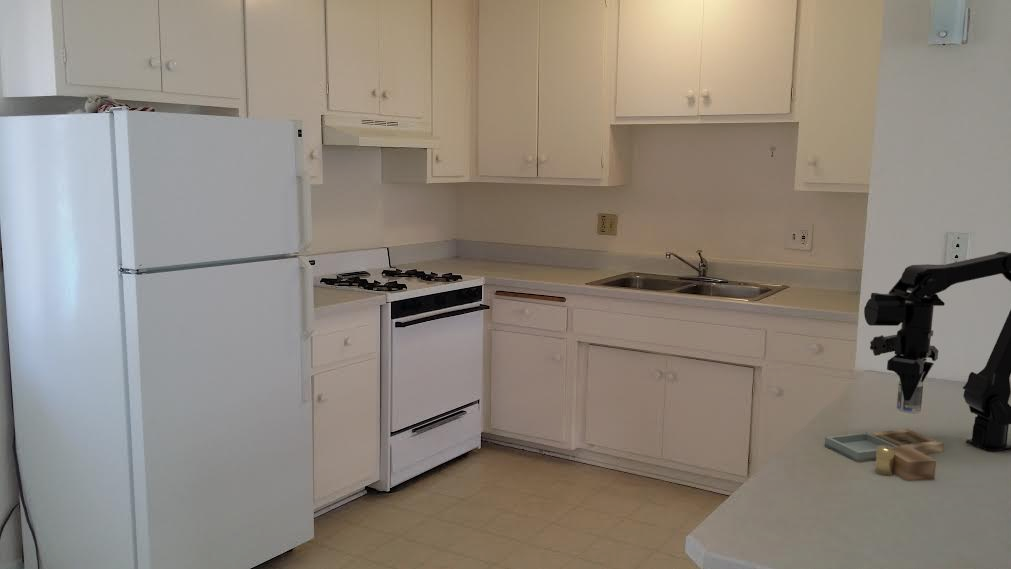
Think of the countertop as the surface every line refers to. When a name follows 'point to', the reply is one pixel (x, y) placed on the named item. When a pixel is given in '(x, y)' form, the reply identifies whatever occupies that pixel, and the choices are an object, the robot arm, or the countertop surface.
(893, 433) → the socket collar
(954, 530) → the countertop surface
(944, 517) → the countertop surface
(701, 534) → the countertop surface
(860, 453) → the tray
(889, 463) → the bench dog
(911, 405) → the pill bottle
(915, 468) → the brown cardboard box
